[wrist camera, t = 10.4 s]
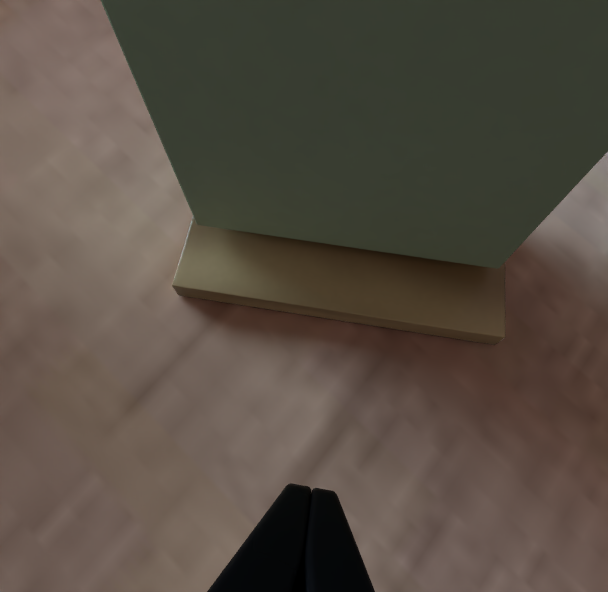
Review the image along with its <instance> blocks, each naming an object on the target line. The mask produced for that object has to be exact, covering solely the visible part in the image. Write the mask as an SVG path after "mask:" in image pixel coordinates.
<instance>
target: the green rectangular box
mask: <svg viewBox="0 0 608 592" xmlns="http://www.w3.org/2000/svg"><path fill="white" fill-rule="evenodd" d="M101 2H102V5H103V7H104V9H105V11H106V14H107V16H108V18H109V21H110V23H111V25H112V28H113V30H114V32H115V35H116V37H117V39H118V42H119V44H120V46H121V49H122V51H123V53H124V56H125V58H126V60H127V63H128V65H129V67H130V70H131V72H132V74H133V77H134V79H135V81H136V84H137V86H138V88H139V91H140V93H141V95H142V98H143V100H144V102H145V105H146V107H147V109H148V112H149V114H150V116H151V118H152V121H153V123H154V125H155V128H156V130H157V132H158V135H159V137H160V139H161V142H162V144H163V146H164V149H165V151H166V153H167V156H168V158H169V160H170V163H171V165H172V167H173V170H174V172H175V174H176V177H177V179H178V181H179V184H180V186H181V188H182V191H183V193H184V195H185V198H186V200H187V202H188V205H189V207H190V209H191V212H192V214H193V216H194V219H195V221H196V223H197V224H198V225H202V226H208V227H215V228H222V229H229V230H236V231H243V232H249V233H256V234H263V235H270V236H277V237H284V238H291V239H297V240H304V241H311V242H318V243H325V244H332V245H338V246H345V247H352V248H359V249H366V250H373V251H379V252H386V253H393V254H400V255H407V256H414V257H421V258H427V259H434V260H441V261H448V262H455V263H462V264H468V265H475V266H482V267H489V268H496V269H498V268H500V266H501V265H502V264H503V263H504V262H505V261H506V260H507V259H508V258H509V257H510V256H511V255H512V254H513V253H514V251H515V250H516V249H517V248H518V247H519V246H520V245H521V244H522V243H523V242H524V241H525V240H526V239H527V237H528V236H529V235H530V234H531V233H532V232H533V231H534V230H535V229H536V228H537V227H538V226H539V225H540V223H541V222H542V221H543V220H544V219H545V218H546V217H547V216H548V215H549V214H550V213H551V212H552V211H553V210H554V208H555V207H556V206H557V205H558V204H559V203H560V202H561V201H562V200H563V199H564V198H565V197H566V196H567V194H568V193H569V192H570V191H571V190H572V189H573V188H574V187H575V186H576V185H577V184H578V183H579V182H580V180H581V179H582V178H583V177H584V176H585V175H586V174H587V173H588V172H589V171H590V170H591V169H592V168H593V166H594V165H595V164H596V163H597V162H598V161H599V160H600V159H601V158H602V157H603V156H604V155H605V154H606V153H607V151H608V0H101Z"/></svg>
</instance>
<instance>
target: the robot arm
mask: <svg viewBox="0 0 608 592" xmlns="http://www.w3.org/2000/svg"><path fill="white" fill-rule="evenodd" d="M207 592H375V591H374V588H373V586H372V583H371V580H370V578H369V575H368V573H367V570H366V568H365V565H364V563H363V560H362V557H361V555H360V552H359V550H358V547H357V545H356V542H355V539H354V537H353V534H352V532H351V529H350V527H349V524H348V522H347V519H346V516H345V514H344V511H343V509H342V506H341V504H340V501H339V498H338V496H337V494H336V493H335V492H334V491H331V490H325V489H320V488H314V489H313V490H312V492H311V489H310V487H308V486H303V485H297V484H291V483H290V484H288V485H287V486H286V487H285V488H284V490H283V491H282V492H281V494H280V495H279V496H278V498H277V499H276V500H275V502H274V503H273V504H272V506H271V507H270V508H269V510H268V511H267V512H266V514H265V515H264V516H263V518H262V519H261V520H260V522H259V523H258V524H257V526H256V527H255V528H254V530H253V531H252V532H251V534H250V535H249V536H248V538H247V539H246V540H245V542H244V543H243V544H242V546H241V547H240V548H239V550H238V551H237V552H236V554H235V555H234V557H233V558H232V559H231V561H230V562H229V563H228V565H227V566H226V567H225V569H224V570H223V571H222V573H221V574H220V575H219V577H218V578H217V579H216V581H215V582H214V583H213V585H212V586H211V587H210V589H209V590H208V591H207Z"/></svg>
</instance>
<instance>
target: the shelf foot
mask: <svg viewBox="0 0 608 592" xmlns="http://www.w3.org/2000/svg"><path fill="white" fill-rule="evenodd" d="M172 286H173V288H174V289H175V291H176V292H177V294H178V295H181V296H187V297H194V298H200V299H206V300H213V301H219V302H226V303H232V304H238V305H245V306H251V307H257V308H264V309H270V310H277V311H283V312H289V313H296V314H302V315H308V316H315V317H321V318H328V319H334V320H340V321H347V322H353V323H359V324H366V325H372V326H379V327H385V328H391V329H398V330H404V331H410V332H417V333H423V334H430V335H436V336H442V337H449V338H455V339H461V340H468V341H474V342H480V343H487V344H493V345H495V344H497V343H498V342H500V341H501V340H502V339H504V338H505V262H504V263H503V264H502V265H501V266H500V268H498V269H496V268H489V267H482V266H475V265H468V264H462V263H455V262H448V261H441V260H434V259H427V258H421V257H414V256H407V255H400V254H393V253H386V252H379V251H373V250H366V249H359V248H352V247H345V246H338V245H332V244H325V243H318V242H311V241H304V240H297V239H291V238H284V237H277V236H270V235H263V234H256V233H249V232H243V231H236V230H229V229H222V228H215V227H208V226H202V225H198V224H197V223H196V221H195V219H194V216H193V219H192V222H191V225H190V228H189V232H188V235H187V238H186V242H185V245H184V248H183V251H182V255H181V258H180V261H179V265H178V268H177V271H176V274H175V278H174V281H173V284H172Z"/></svg>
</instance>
